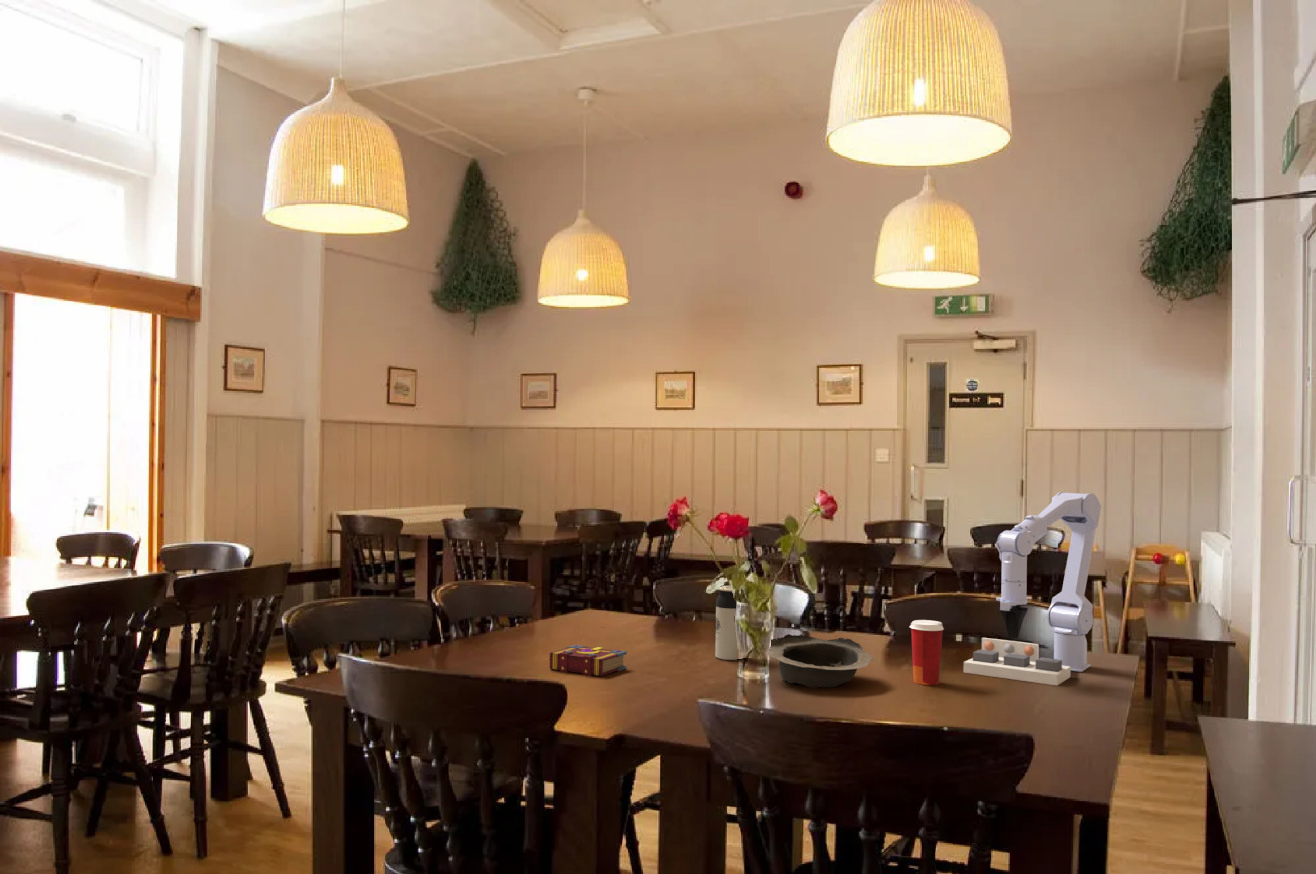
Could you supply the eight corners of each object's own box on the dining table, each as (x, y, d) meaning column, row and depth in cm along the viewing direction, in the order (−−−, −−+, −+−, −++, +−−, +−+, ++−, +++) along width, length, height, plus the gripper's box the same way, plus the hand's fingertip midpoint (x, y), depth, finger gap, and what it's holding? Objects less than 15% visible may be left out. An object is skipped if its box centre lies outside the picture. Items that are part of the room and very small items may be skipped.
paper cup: (947, 681, 239) (947, 621, 239) (938, 688, 233) (938, 626, 233) (914, 677, 243) (914, 618, 243) (904, 683, 237) (905, 622, 237)
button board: (979, 664, 260) (979, 654, 260) (1070, 677, 247) (1070, 666, 247) (963, 672, 250) (963, 662, 250) (1057, 685, 237) (1057, 674, 237)
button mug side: (979, 661, 256) (979, 649, 256) (998, 663, 253) (998, 652, 253) (972, 664, 252) (973, 652, 252) (992, 666, 249) (992, 654, 249)
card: (982, 660, 265) (983, 637, 265) (1038, 668, 256) (1038, 644, 257) (980, 661, 264) (981, 638, 264) (1036, 669, 255) (1037, 645, 255)
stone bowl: (798, 664, 255) (801, 627, 255) (889, 688, 239) (893, 649, 239) (741, 678, 236) (745, 639, 236) (837, 705, 220) (840, 662, 220)
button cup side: (1041, 669, 247) (1041, 657, 247) (1061, 672, 245) (1061, 660, 245) (1035, 672, 243) (1035, 660, 243) (1056, 675, 241) (1056, 663, 241)
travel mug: (746, 655, 266) (747, 586, 267) (746, 661, 259) (747, 590, 259) (716, 654, 267) (717, 585, 268) (714, 660, 259) (715, 589, 260)
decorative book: (601, 678, 237) (602, 656, 238) (544, 670, 245) (544, 649, 245) (626, 669, 247) (626, 649, 247) (570, 662, 255) (571, 642, 255)
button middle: (1009, 665, 252) (1009, 653, 252) (1029, 667, 249) (1029, 655, 249) (1003, 668, 248) (1003, 656, 248) (1023, 671, 245) (1024, 658, 245)
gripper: (1006, 576, 254) (1005, 631, 254) (987, 582, 243) (986, 639, 242) (1035, 579, 250) (1034, 634, 250) (1017, 584, 239) (1017, 643, 238)
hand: (1013, 637), depth 246 cm, fingers closed
